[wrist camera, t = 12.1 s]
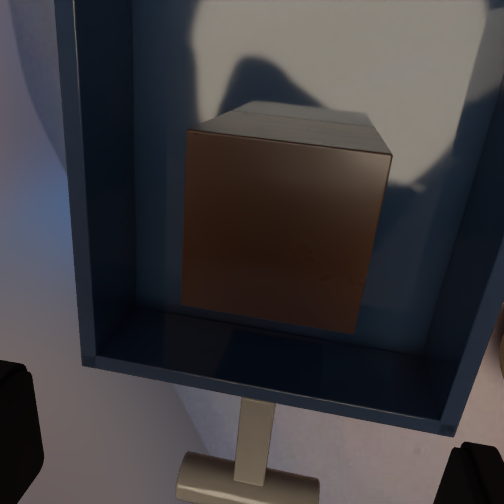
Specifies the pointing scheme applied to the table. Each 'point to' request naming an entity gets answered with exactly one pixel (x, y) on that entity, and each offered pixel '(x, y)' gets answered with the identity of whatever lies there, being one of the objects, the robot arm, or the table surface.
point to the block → (281, 217)
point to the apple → (502, 356)
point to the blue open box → (302, 107)
